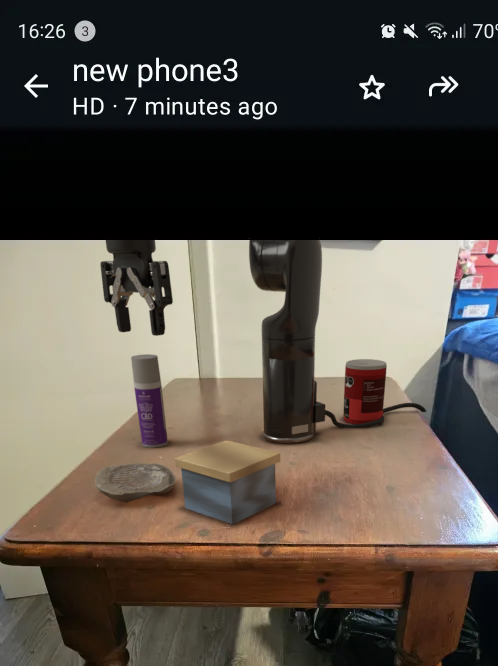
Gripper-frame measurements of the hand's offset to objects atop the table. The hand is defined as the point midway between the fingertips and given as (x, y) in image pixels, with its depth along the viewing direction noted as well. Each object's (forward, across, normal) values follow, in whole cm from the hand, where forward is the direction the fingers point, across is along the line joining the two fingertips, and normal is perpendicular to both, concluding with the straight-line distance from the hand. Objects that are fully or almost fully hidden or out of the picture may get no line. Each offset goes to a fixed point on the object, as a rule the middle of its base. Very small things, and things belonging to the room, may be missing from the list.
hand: (141, 333), depth 97 cm
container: (+19, 0, 0) cm, 19 cm away
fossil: (+19, -17, +18) cm, 31 cm away
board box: (+19, -31, +13) cm, 38 cm away
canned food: (+18, -22, -36) cm, 46 cm away
